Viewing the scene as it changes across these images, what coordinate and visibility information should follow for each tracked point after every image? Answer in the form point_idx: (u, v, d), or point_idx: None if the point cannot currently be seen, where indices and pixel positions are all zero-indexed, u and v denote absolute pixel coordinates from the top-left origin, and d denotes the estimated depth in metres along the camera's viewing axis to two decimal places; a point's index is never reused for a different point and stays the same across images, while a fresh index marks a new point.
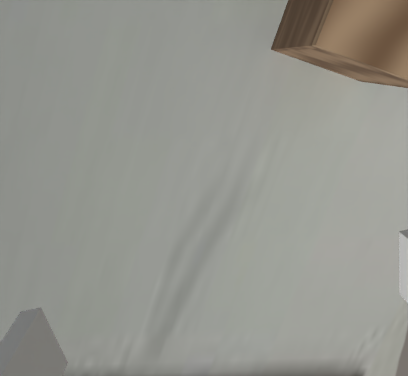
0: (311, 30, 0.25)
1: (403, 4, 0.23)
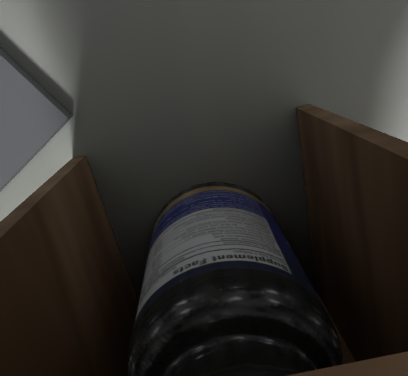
0: None
1: None
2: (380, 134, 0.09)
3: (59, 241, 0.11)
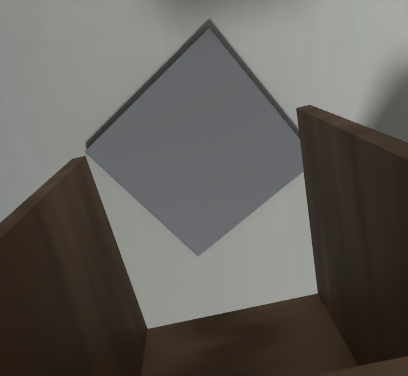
0: None
1: None
2: (381, 135, 0.09)
3: (59, 242, 0.11)
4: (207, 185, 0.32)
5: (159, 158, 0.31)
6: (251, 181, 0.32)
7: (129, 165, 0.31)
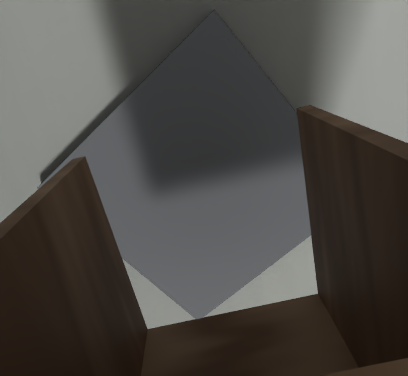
0: None
1: None
2: (381, 136, 0.09)
3: (59, 242, 0.11)
4: (211, 231, 0.23)
5: (144, 196, 0.22)
6: (272, 224, 0.23)
7: None
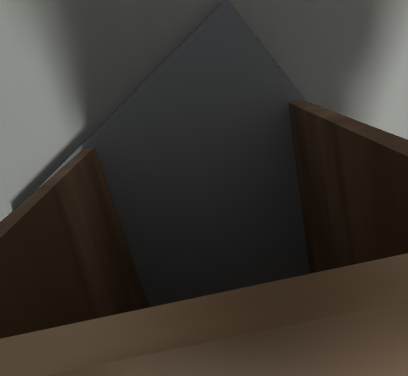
0: None
1: None
2: (358, 123, 0.10)
3: (74, 221, 0.12)
4: (219, 269, 0.19)
5: (138, 228, 0.18)
6: (293, 261, 0.19)
7: None
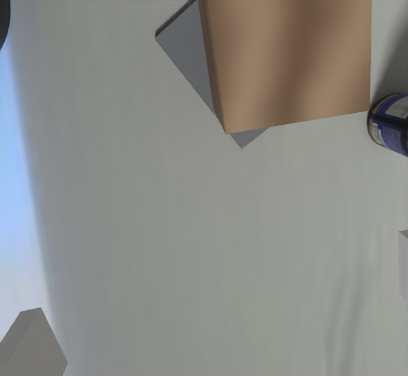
0: (221, 114, 0.27)
1: (283, 65, 0.24)
2: None
3: None
4: None
5: None
6: None
7: (191, 54, 0.36)
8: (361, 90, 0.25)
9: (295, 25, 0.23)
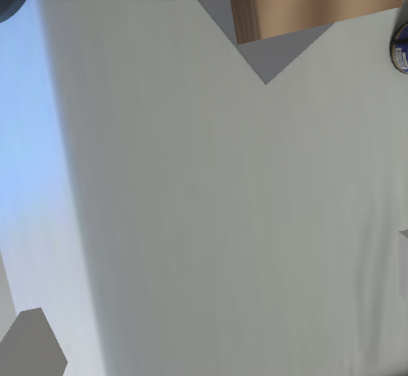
0: (254, 25, 0.27)
1: None
2: None
3: None
4: None
5: None
6: None
7: None
8: None
9: None
